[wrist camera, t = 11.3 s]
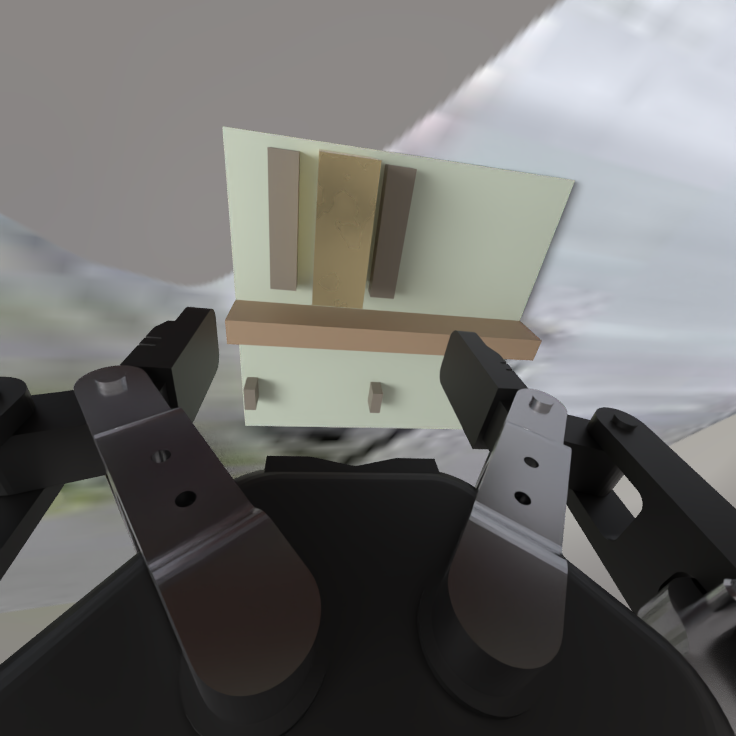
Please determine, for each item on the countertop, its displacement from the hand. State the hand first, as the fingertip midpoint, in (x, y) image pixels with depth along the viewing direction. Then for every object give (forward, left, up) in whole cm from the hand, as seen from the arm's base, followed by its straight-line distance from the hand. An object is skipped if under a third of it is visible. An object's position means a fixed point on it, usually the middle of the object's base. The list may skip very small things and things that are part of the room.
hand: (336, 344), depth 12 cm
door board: (-9, 0, -19) cm, 21 cm away
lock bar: (0, -1, -18) cm, 18 cm away
